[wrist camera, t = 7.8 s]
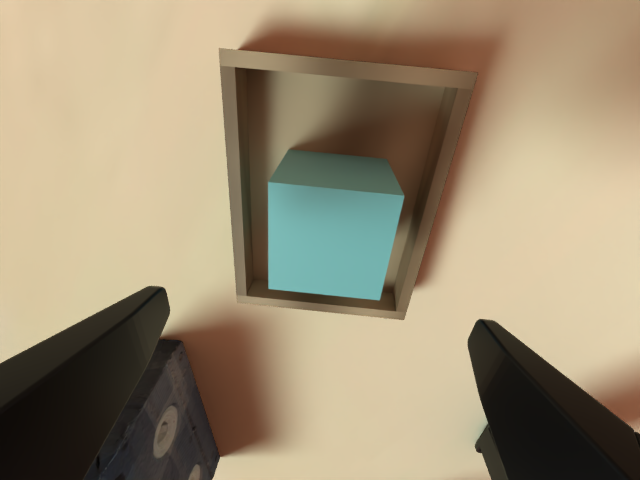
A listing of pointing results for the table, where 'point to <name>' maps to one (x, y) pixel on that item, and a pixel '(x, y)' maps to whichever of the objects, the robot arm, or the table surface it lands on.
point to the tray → (337, 138)
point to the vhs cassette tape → (160, 426)
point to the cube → (331, 224)
